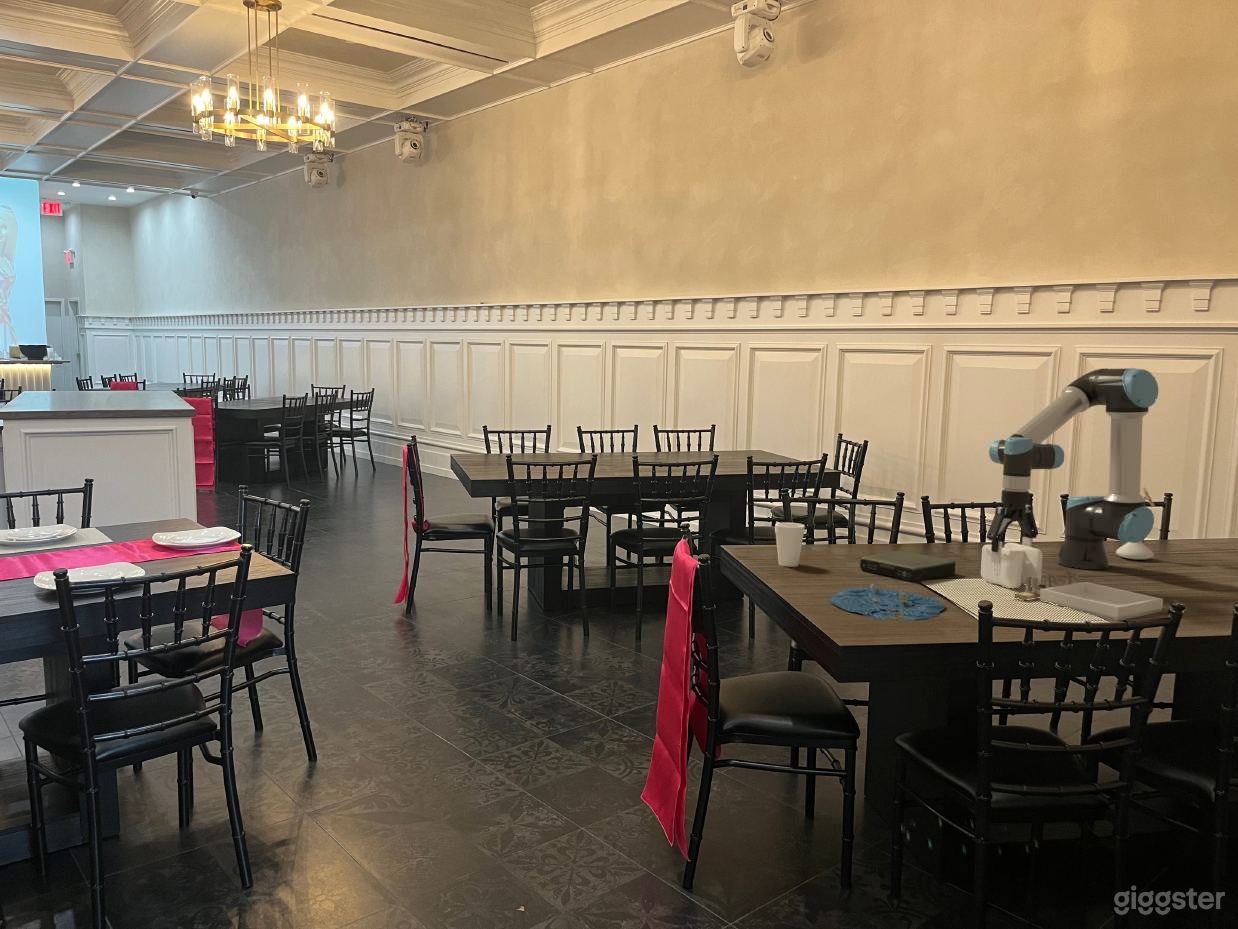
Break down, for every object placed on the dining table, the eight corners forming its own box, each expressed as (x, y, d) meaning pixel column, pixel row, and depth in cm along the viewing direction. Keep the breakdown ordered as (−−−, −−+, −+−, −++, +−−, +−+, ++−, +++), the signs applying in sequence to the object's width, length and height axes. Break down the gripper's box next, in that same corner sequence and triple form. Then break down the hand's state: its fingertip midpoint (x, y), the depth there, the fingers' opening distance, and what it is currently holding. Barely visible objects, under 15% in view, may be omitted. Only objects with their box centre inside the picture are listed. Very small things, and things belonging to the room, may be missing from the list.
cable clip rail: (1076, 588, 267) (1078, 568, 266) (1086, 590, 264) (1087, 570, 264) (1014, 599, 253) (1015, 577, 252) (1023, 601, 250) (1025, 580, 250)
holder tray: (1084, 593, 261) (1085, 581, 260) (1161, 611, 242) (1162, 598, 241) (1039, 601, 251) (1040, 589, 250) (1116, 620, 232) (1117, 607, 231)
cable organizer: (1043, 589, 265) (1045, 550, 264) (1013, 592, 262) (1016, 552, 260) (1006, 578, 279) (1008, 541, 278) (978, 580, 276) (980, 542, 275)
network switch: (959, 574, 285) (960, 559, 285) (924, 586, 269) (924, 569, 268) (891, 563, 302) (892, 548, 301) (854, 573, 286) (855, 557, 285)
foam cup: (792, 560, 301) (793, 521, 300) (809, 566, 293) (810, 526, 292) (768, 562, 297) (769, 523, 296) (785, 568, 289) (786, 528, 288)
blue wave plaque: (970, 624, 233) (972, 604, 233) (862, 628, 227) (864, 608, 226) (910, 592, 262) (912, 574, 261) (813, 595, 256) (814, 577, 255)
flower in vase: (1145, 563, 305) (1150, 489, 302) (1109, 557, 314) (1114, 485, 311) (1161, 558, 313) (1166, 486, 310) (1126, 553, 322) (1131, 483, 319)
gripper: (1031, 486, 277) (1027, 555, 279) (976, 490, 265) (972, 562, 267) (1054, 489, 270) (1049, 559, 272) (998, 493, 258) (993, 566, 260)
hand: (1011, 561), depth 270 cm, fingers open, 13 cm apart
